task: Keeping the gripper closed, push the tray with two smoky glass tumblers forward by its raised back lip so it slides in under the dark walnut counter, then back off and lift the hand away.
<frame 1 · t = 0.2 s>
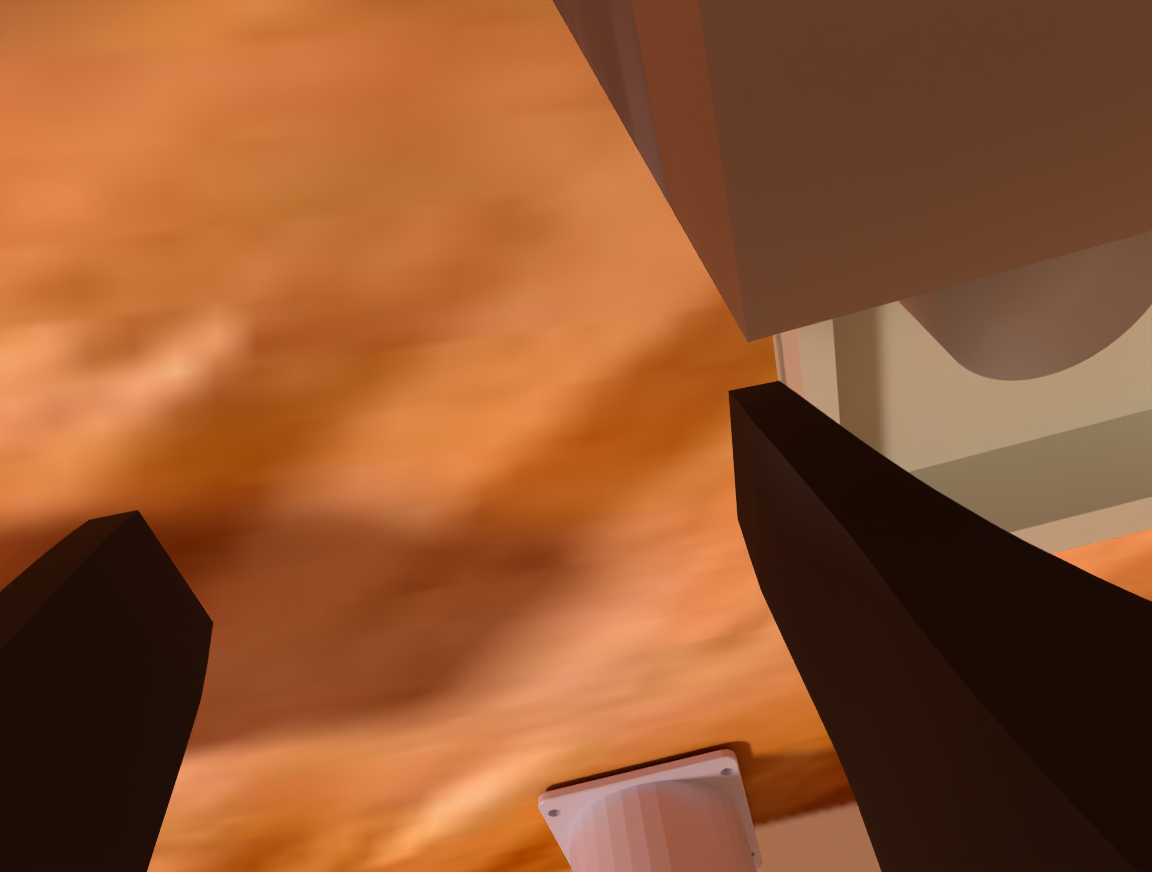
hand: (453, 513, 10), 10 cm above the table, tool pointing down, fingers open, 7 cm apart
tray: (1004, 243, 20), on the table
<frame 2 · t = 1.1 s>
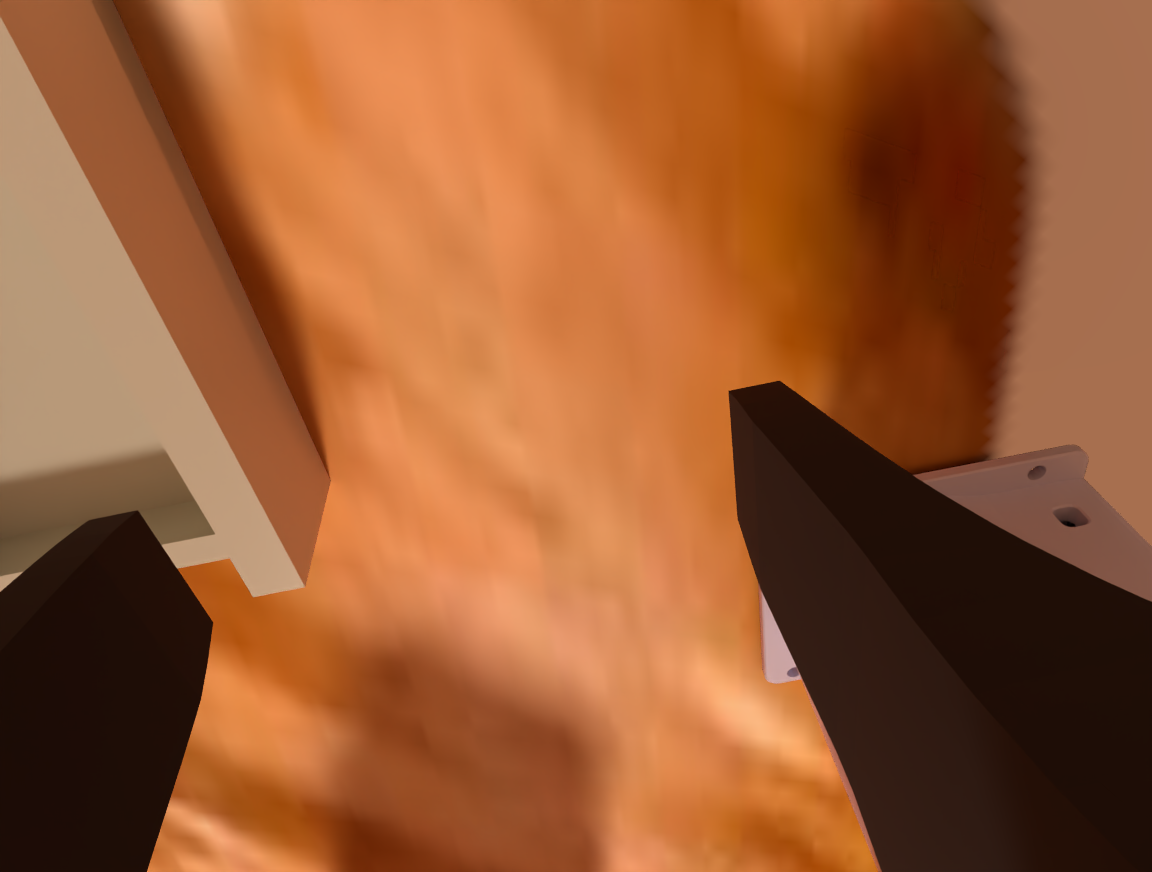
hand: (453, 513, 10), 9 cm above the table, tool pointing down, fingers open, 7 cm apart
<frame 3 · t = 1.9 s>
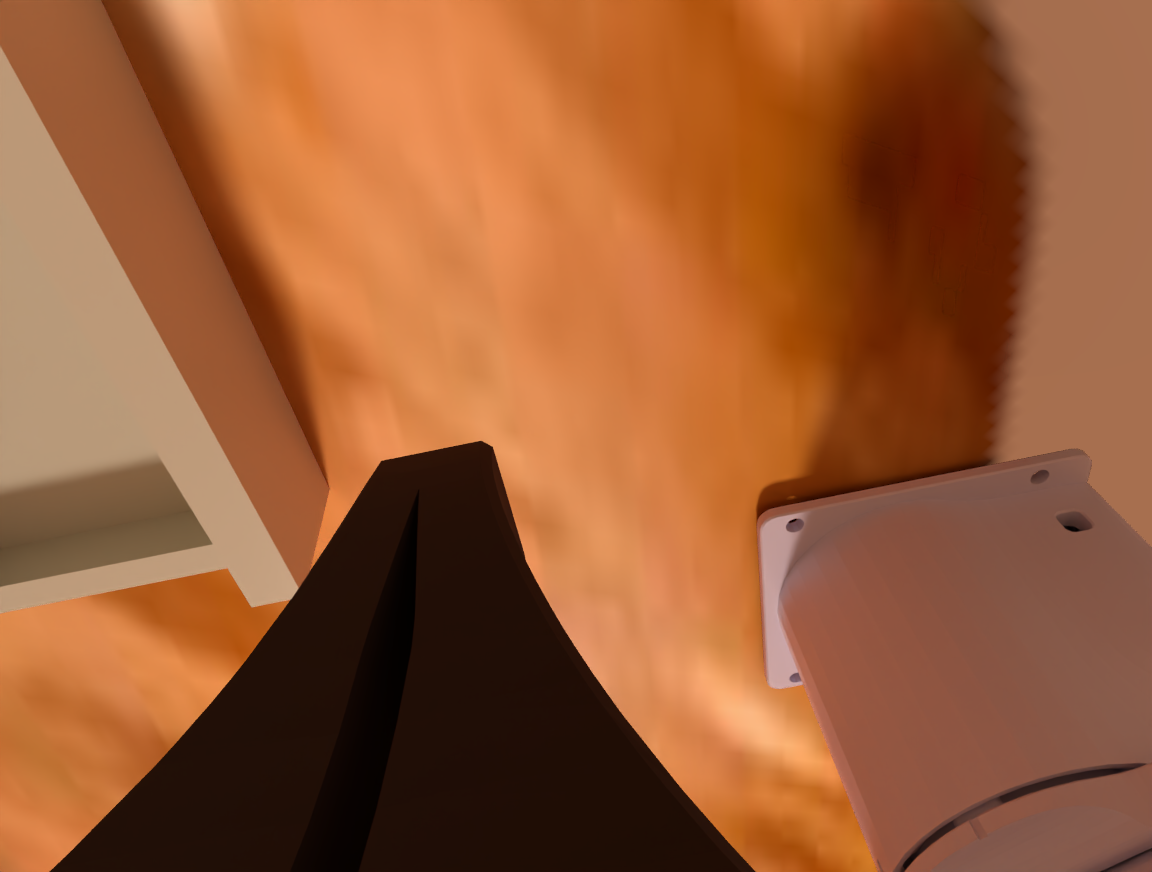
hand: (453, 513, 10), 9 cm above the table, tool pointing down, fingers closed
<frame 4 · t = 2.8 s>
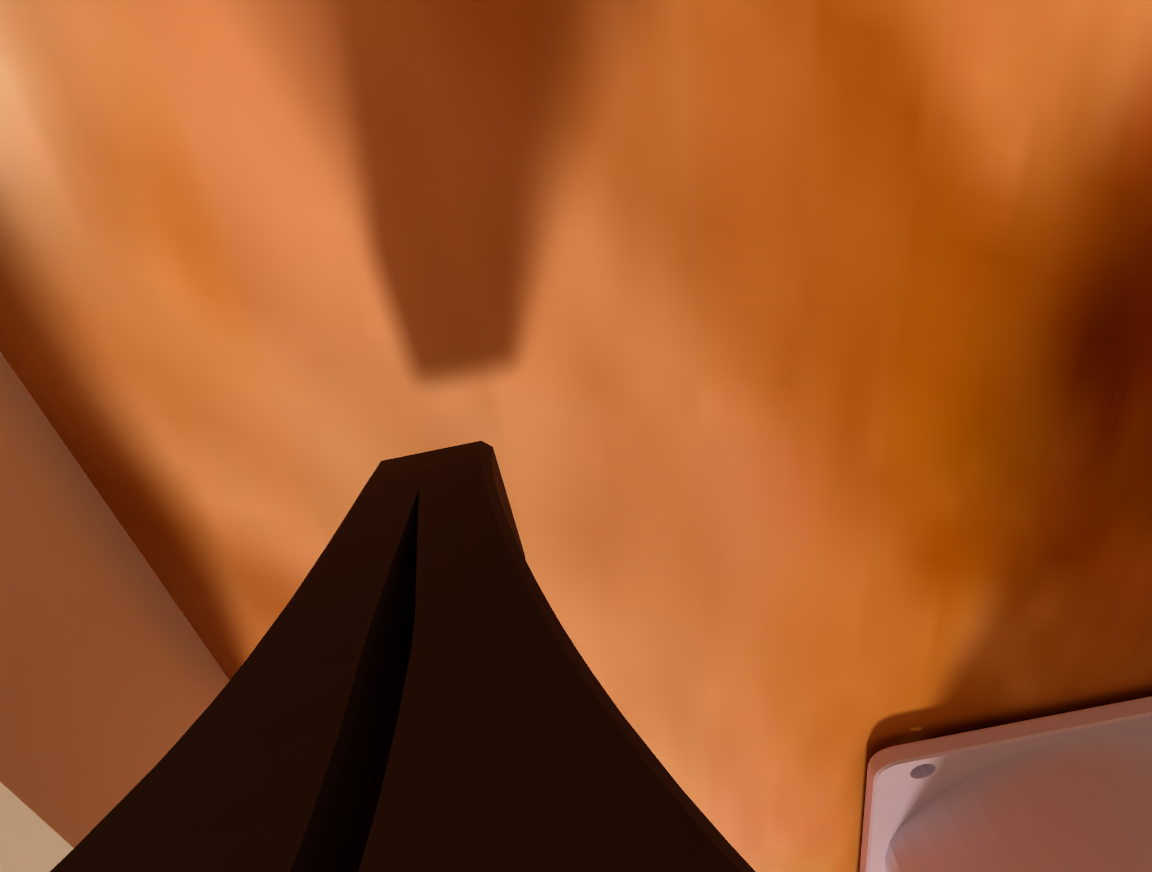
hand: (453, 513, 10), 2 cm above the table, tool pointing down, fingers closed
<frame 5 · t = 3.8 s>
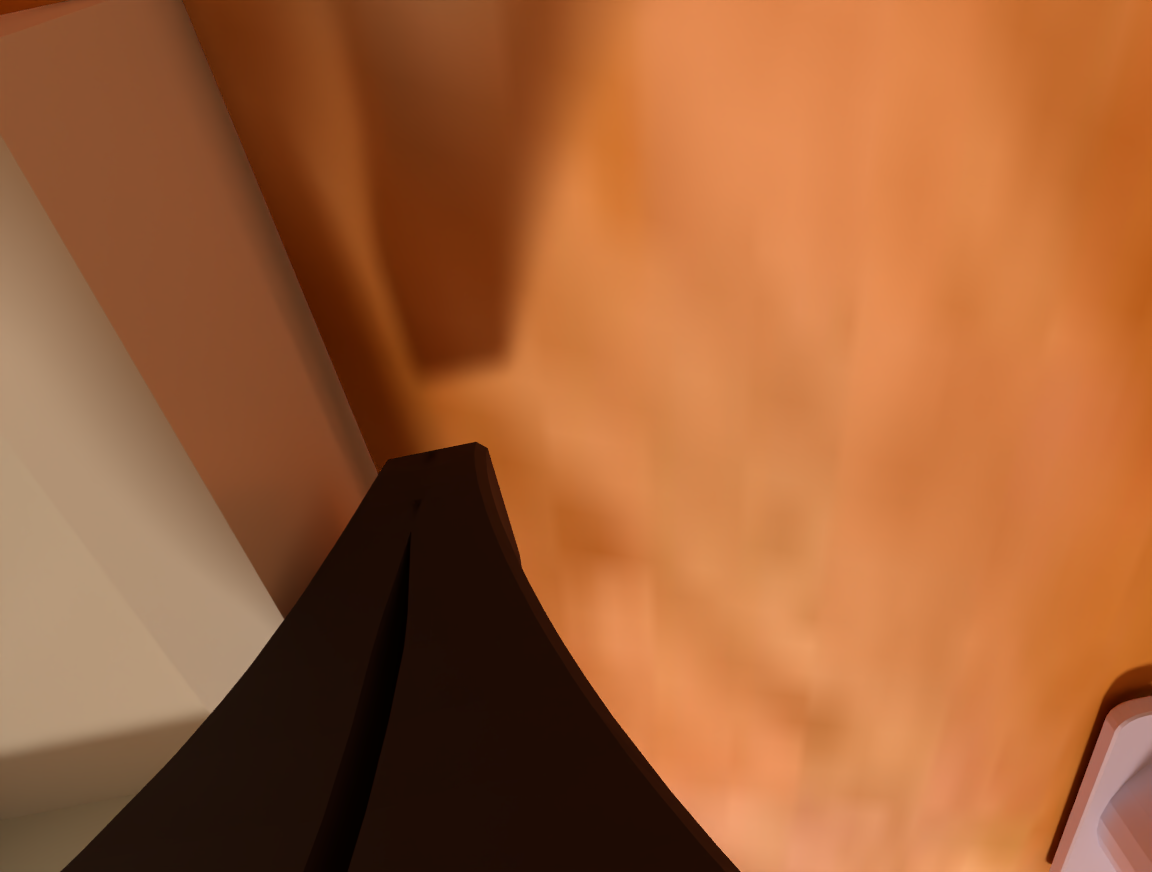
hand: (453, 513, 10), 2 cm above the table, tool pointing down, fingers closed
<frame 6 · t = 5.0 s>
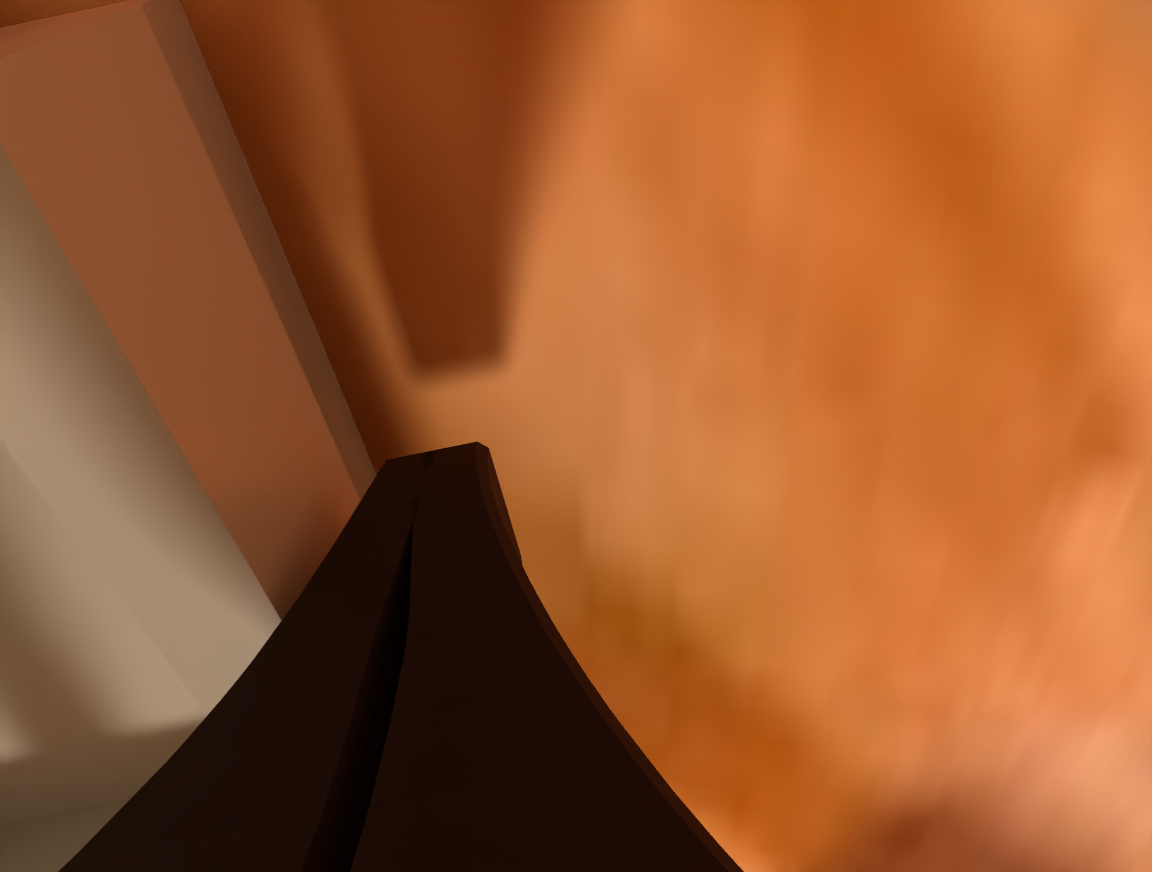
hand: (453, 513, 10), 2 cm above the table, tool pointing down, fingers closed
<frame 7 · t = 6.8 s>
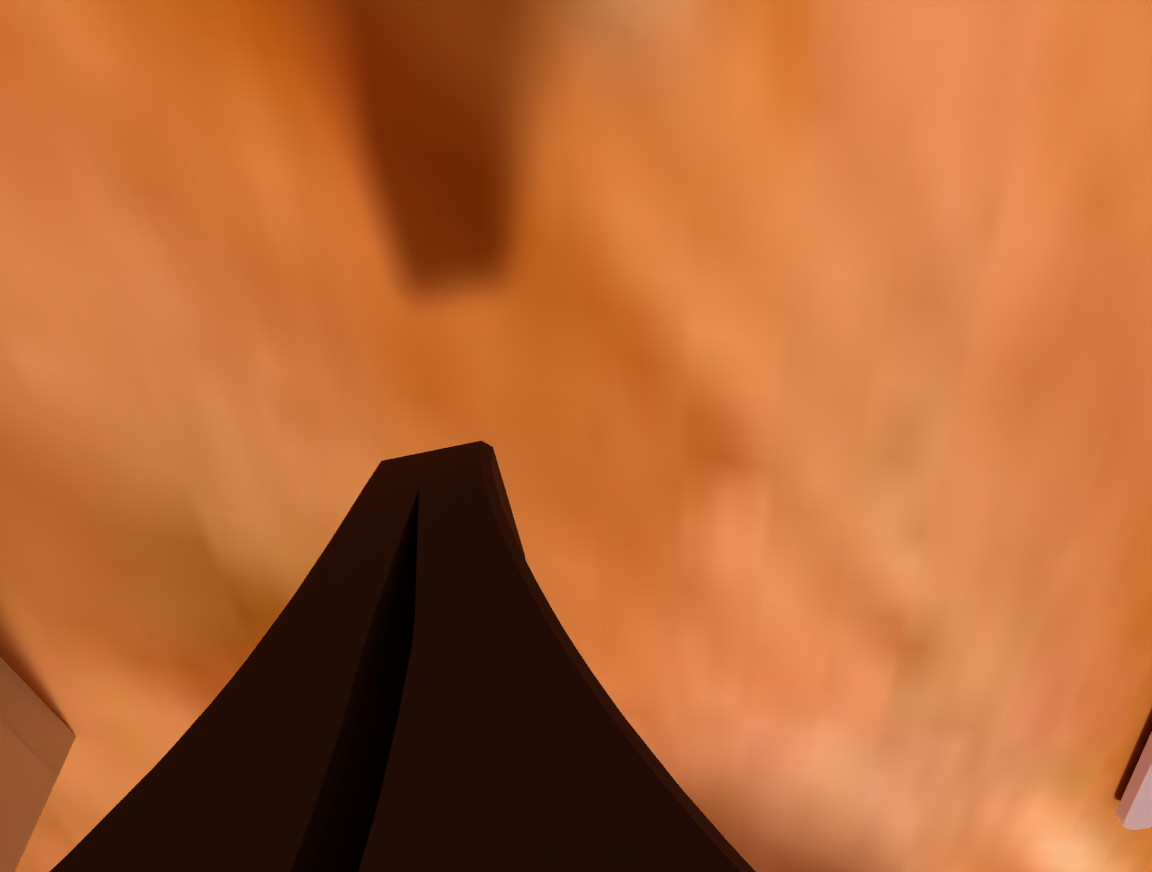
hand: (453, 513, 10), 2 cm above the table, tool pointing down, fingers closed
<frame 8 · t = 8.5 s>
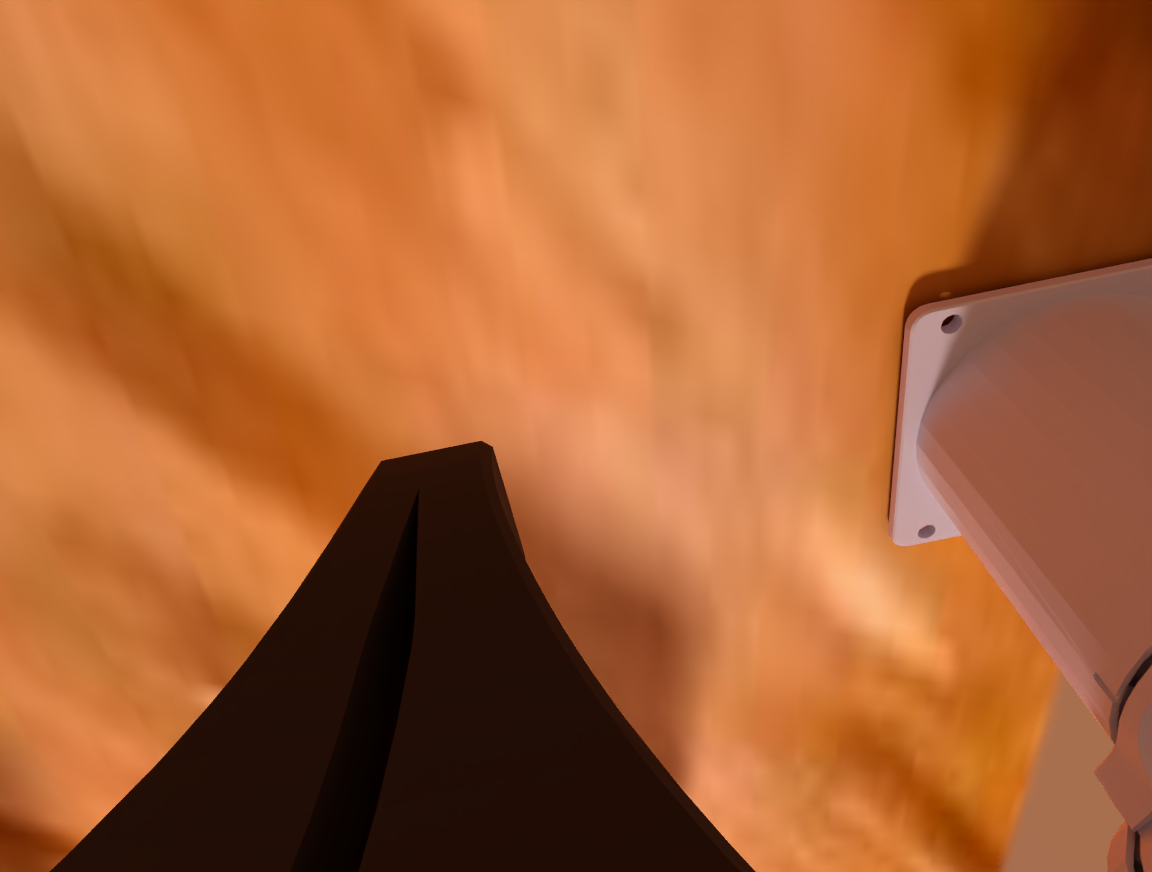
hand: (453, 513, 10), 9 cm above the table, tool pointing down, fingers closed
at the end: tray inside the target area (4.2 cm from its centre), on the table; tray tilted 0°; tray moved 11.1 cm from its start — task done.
